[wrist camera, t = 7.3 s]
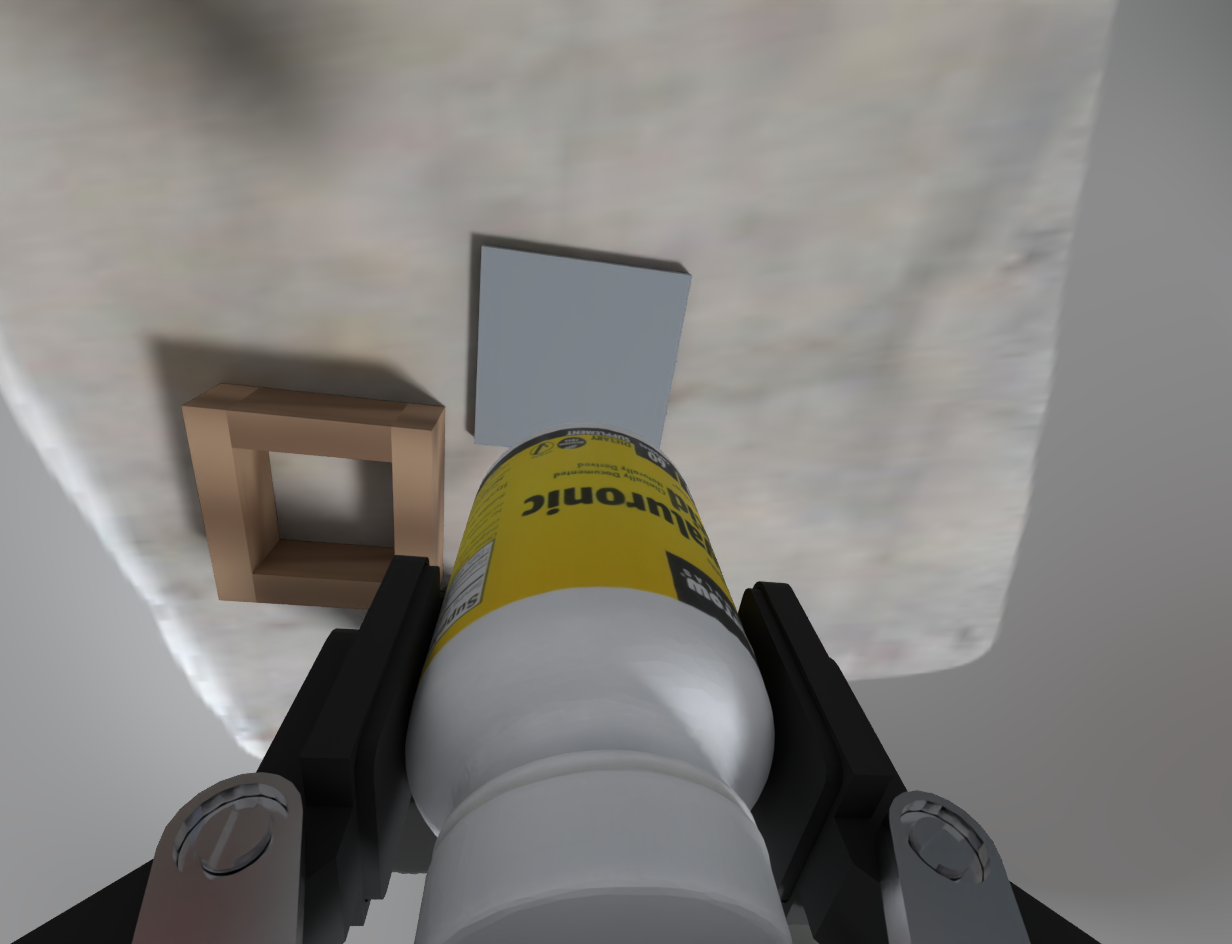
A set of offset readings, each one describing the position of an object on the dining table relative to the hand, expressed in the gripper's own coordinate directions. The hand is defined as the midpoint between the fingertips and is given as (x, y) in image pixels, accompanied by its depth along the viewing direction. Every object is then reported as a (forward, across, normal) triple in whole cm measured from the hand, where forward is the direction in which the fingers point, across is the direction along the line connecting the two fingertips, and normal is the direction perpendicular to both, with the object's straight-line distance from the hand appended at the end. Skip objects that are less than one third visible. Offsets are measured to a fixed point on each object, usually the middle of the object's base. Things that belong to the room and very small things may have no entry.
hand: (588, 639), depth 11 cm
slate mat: (+19, 0, 0) cm, 19 cm away
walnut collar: (+19, +11, +8) cm, 23 cm away
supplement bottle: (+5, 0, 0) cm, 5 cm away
